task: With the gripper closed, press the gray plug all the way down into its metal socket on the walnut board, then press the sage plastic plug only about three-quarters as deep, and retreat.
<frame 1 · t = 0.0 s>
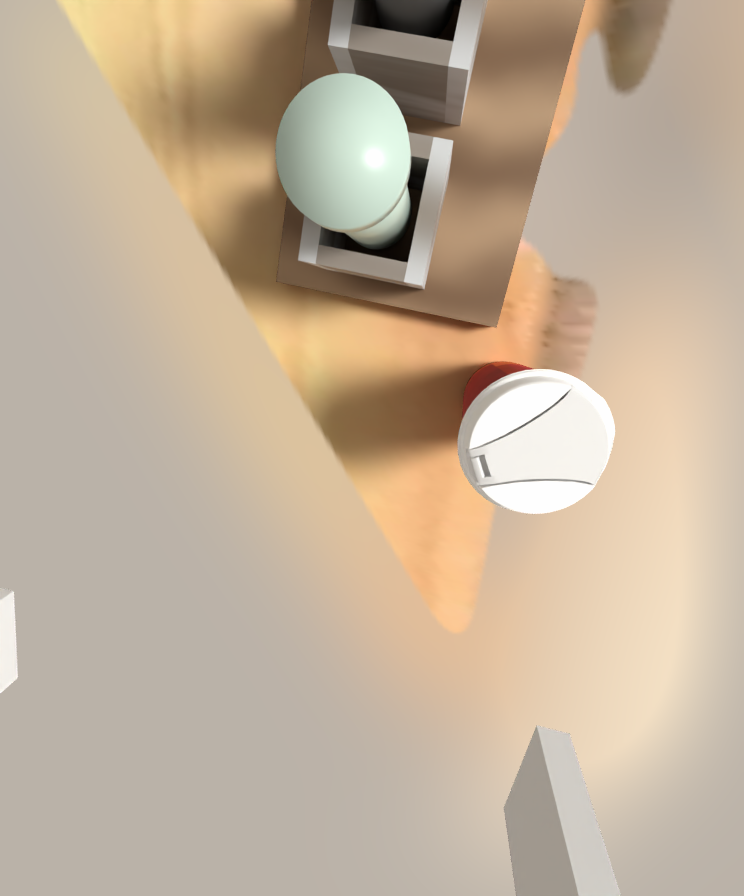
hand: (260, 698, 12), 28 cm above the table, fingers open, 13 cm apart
sage plug: (363, 190, 22), point 13 cm above the table, slide at 0.0 cm
socket board: (417, 154, 32), on the table
paper cup: (500, 396, 37), on the table
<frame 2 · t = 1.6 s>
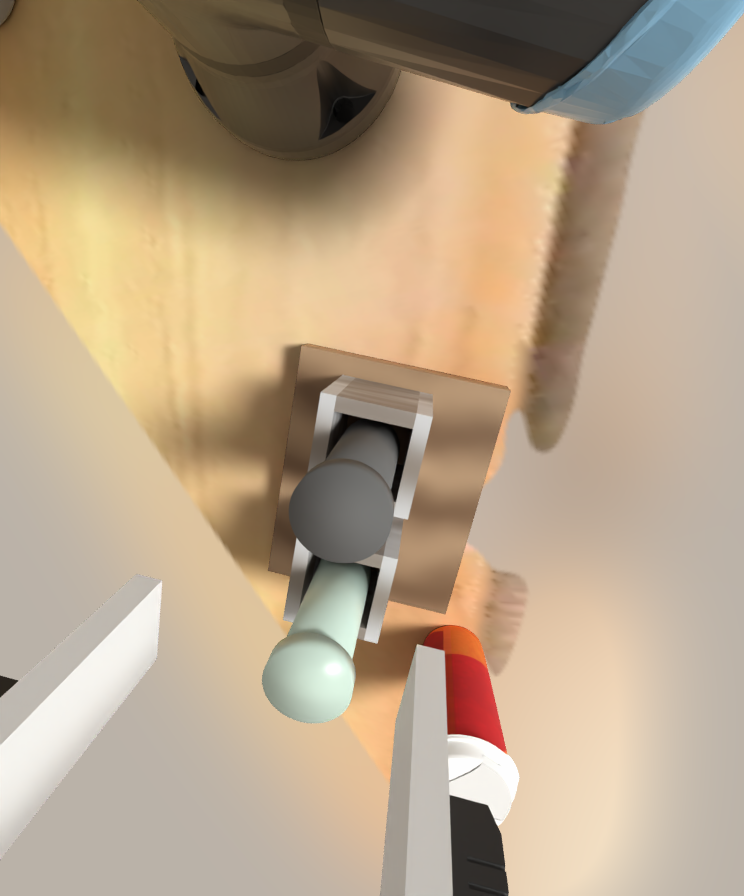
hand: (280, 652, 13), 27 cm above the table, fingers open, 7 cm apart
sage plug: (329, 618, 30), point 13 cm above the table, slide at 0.0 cm
socket board: (380, 480, 40), on the table
gray plug: (358, 474, 27), point 13 cm above the table, slide at 0.0 cm
paper cup: (452, 648, 45), on the table
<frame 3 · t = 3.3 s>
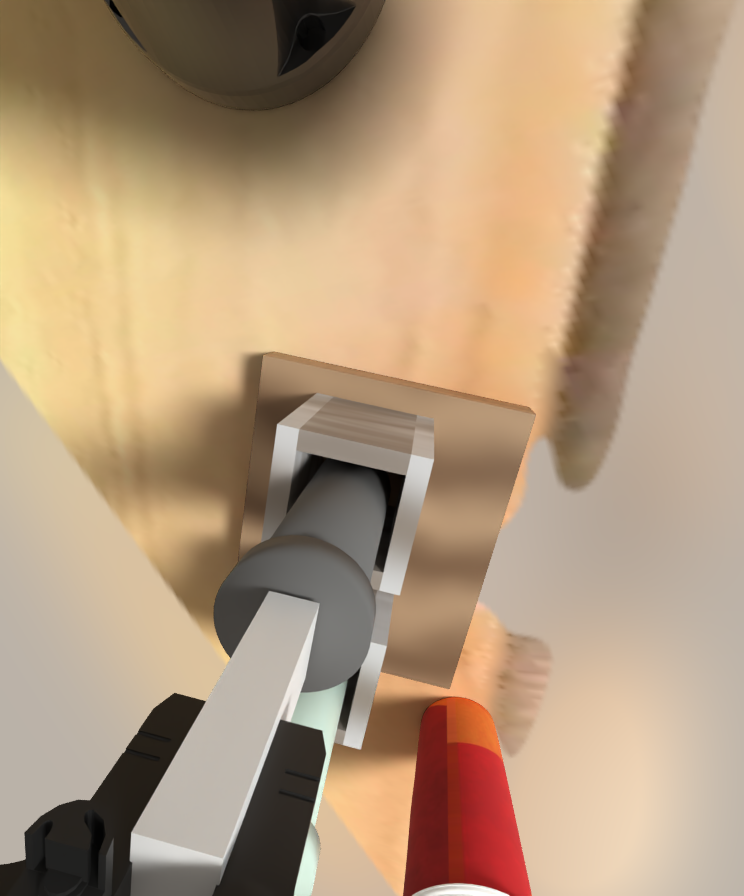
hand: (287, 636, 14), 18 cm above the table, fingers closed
sage plug: (291, 734, 22), point 13 cm above the table, slide at 0.0 cm
socket board: (368, 522, 32), on the table
gray plug: (330, 538, 19), point 12 cm above the table, slide at 0.7 cm, touching gripper
paper cup: (458, 723, 36), on the table
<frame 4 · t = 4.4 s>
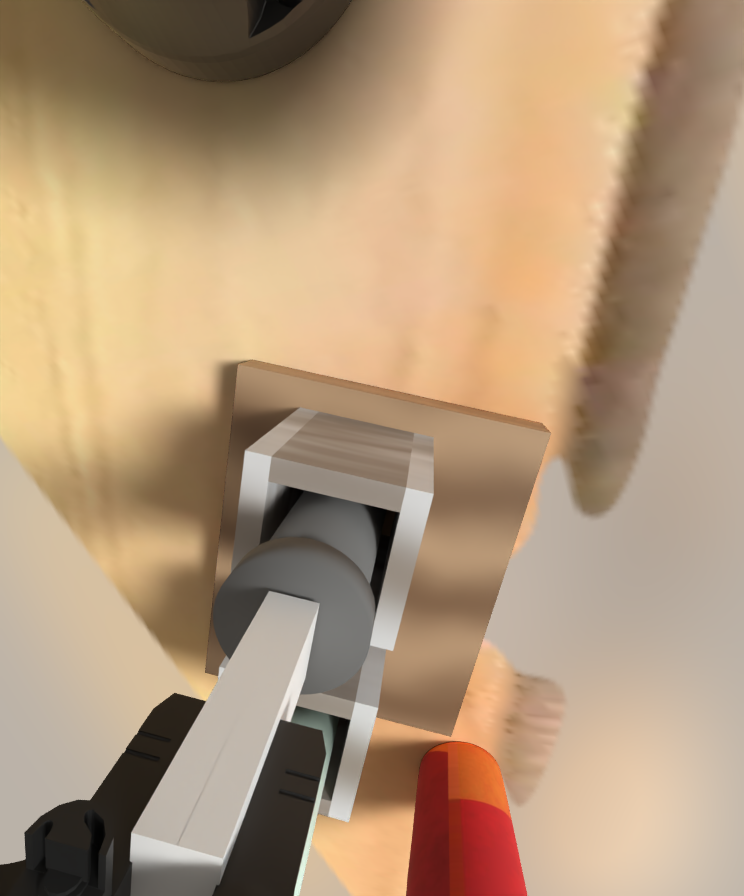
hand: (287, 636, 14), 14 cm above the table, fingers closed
sage plug: (263, 819, 18), point 13 cm above the table, slide at 0.0 cm
socket board: (360, 551, 29), on the table
gray plug: (329, 539, 19), point 8 cm above the table, slide at 4.4 cm, touching gripper
paper cup: (460, 769, 33), on the table
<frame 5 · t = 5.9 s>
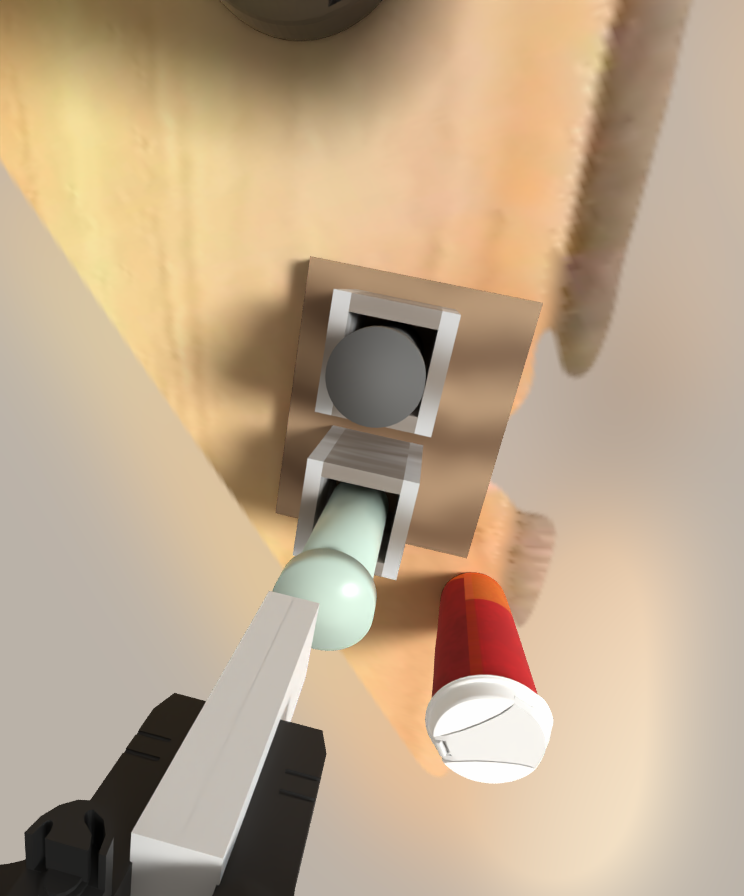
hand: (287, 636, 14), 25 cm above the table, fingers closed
sage plug: (344, 546, 27), point 13 cm above the table, slide at 0.0 cm
socket board: (396, 412, 37), on the table
gray plug: (386, 362, 28), point 8 cm above the table, slide at 4.4 cm
paper cup: (473, 598, 42), on the table
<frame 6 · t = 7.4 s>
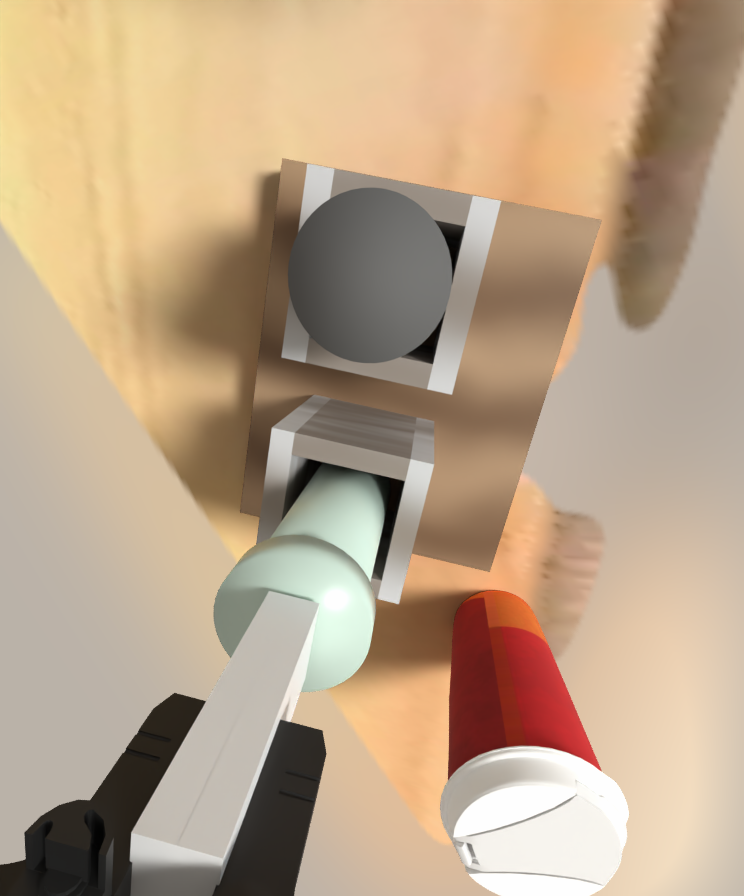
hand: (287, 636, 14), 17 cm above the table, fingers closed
sage plug: (330, 537, 19), point 11 cm above the table, slide at 1.4 cm, touching gripper
socket board: (398, 380, 28), on the table
gray plug: (386, 285, 19), point 8 cm above the table, slide at 4.4 cm
paper cup: (495, 623, 33), on the table
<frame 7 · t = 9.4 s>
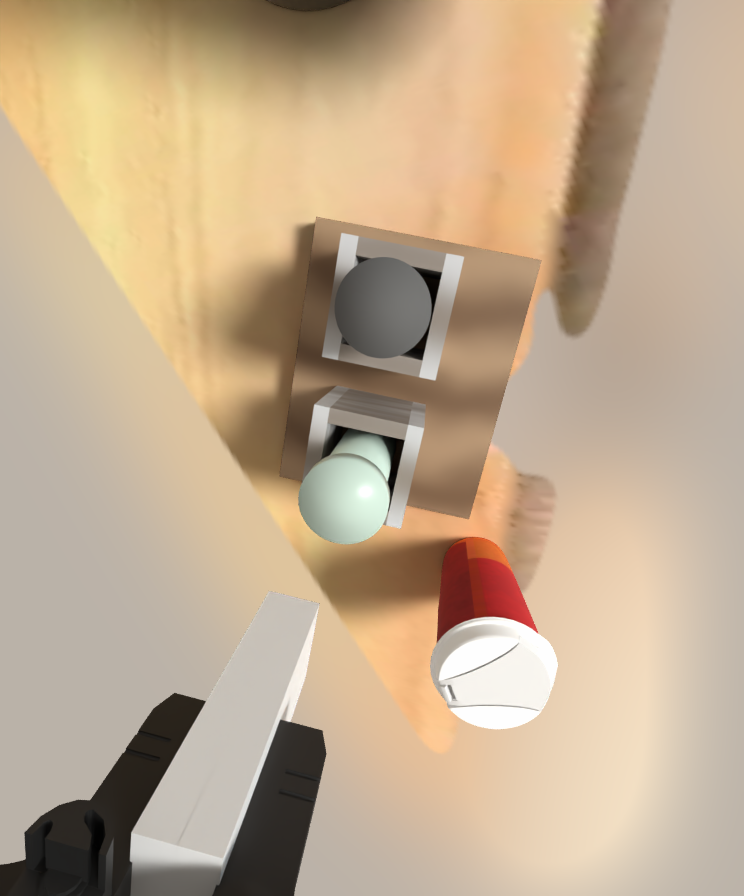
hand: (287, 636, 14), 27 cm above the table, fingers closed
sage plug: (358, 468, 30), point 10 cm above the table, slide at 3.0 cm
socket board: (399, 375, 38), on the table
gray plug: (391, 308, 29), point 8 cm above the table, slide at 4.4 cm
paper cup: (475, 563, 42), on the table
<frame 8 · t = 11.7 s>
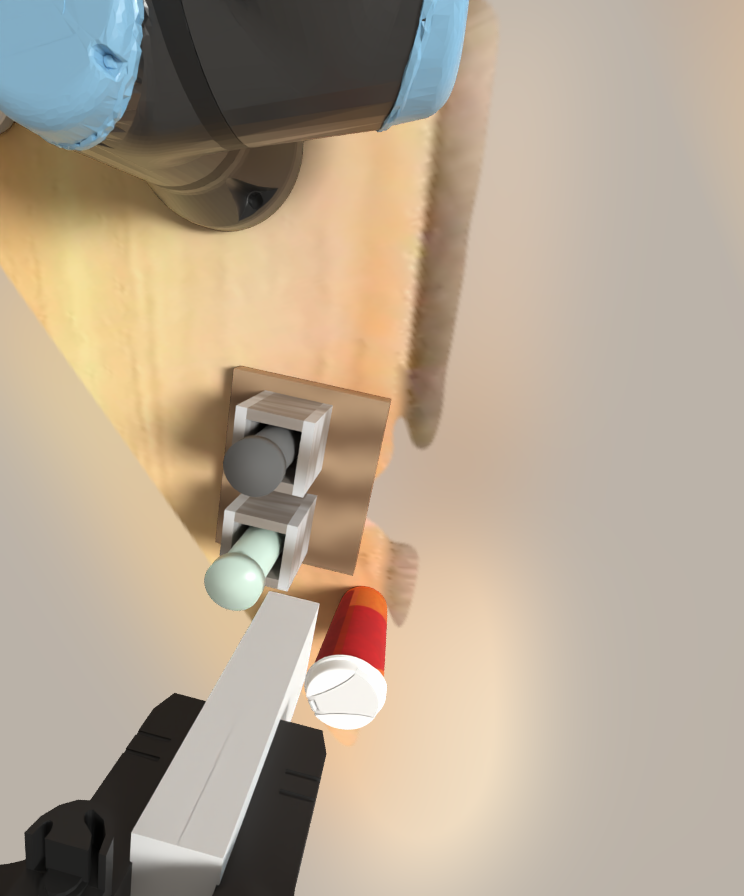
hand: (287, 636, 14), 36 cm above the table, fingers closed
sage plug: (256, 551, 44), point 10 cm above the table, slide at 3.0 cm
socket board: (301, 471, 52), on the table
gray plug: (274, 448, 43), point 8 cm above the table, slide at 4.4 cm
paper cup: (364, 605, 56), on the table
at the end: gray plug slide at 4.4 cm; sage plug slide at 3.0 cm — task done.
